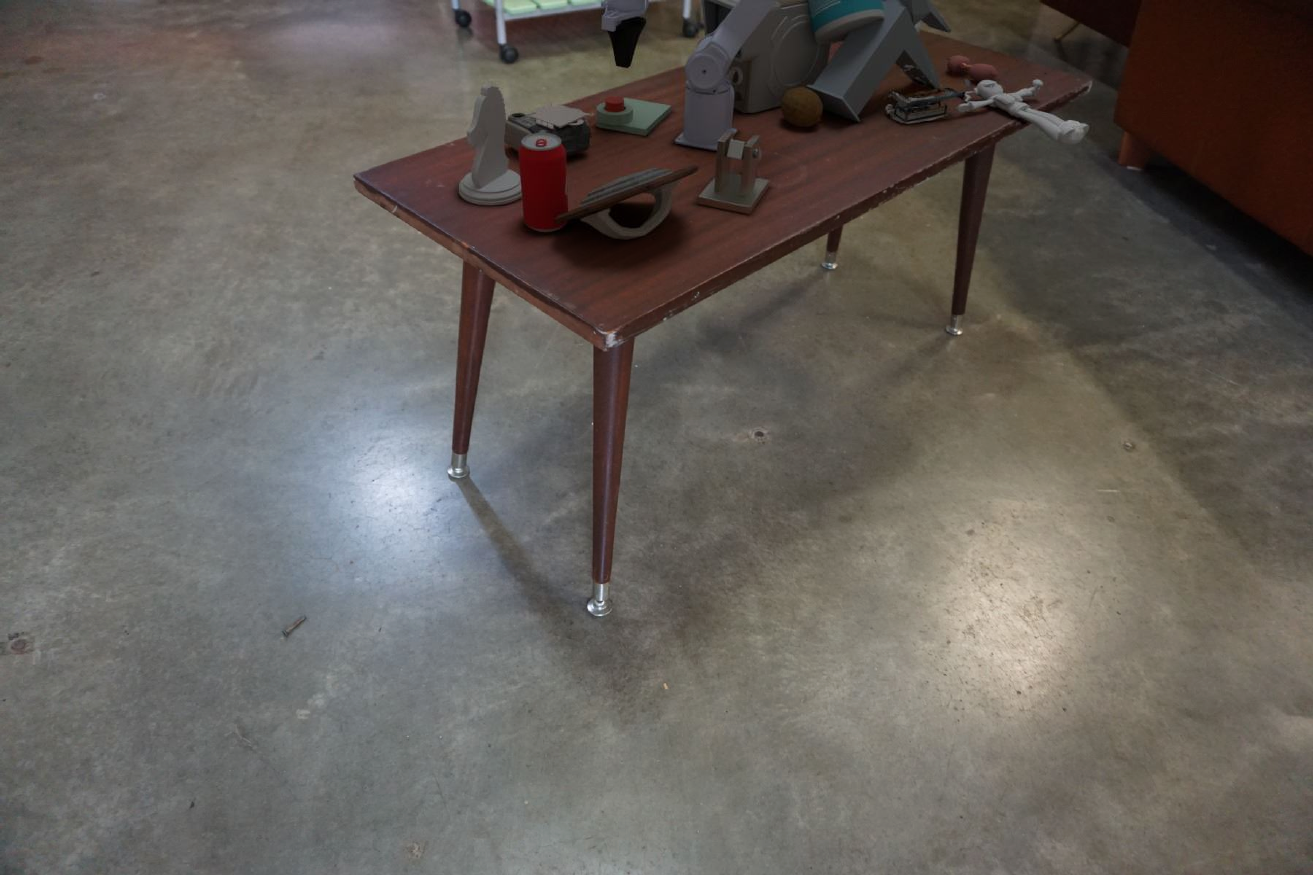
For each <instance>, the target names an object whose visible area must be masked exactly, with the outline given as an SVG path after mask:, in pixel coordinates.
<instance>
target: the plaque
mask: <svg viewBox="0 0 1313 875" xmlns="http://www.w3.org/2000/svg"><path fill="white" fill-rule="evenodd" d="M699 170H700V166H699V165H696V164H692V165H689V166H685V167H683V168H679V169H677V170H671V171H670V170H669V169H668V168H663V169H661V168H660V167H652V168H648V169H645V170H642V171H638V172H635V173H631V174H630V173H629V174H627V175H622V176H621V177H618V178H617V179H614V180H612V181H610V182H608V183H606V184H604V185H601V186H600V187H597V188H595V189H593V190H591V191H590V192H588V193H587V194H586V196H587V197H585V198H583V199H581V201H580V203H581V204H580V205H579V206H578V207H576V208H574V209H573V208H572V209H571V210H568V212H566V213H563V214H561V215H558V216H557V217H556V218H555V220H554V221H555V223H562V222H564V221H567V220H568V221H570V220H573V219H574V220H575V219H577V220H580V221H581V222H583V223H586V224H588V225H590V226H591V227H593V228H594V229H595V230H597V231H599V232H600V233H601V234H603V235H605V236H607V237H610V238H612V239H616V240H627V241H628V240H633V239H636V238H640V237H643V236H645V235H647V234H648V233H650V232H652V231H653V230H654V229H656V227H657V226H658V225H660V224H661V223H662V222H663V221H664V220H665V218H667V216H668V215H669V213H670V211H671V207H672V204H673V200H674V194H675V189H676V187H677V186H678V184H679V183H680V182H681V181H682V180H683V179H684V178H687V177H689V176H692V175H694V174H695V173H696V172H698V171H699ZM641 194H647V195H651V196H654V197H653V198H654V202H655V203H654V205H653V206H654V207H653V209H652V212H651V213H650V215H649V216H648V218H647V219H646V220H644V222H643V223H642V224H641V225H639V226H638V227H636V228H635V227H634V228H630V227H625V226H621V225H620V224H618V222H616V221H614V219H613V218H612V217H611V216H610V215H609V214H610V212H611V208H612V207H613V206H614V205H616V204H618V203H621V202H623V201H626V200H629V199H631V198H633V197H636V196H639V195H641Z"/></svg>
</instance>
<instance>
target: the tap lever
mask: <svg viewBox="0 0 1313 875" xmlns="http://www.w3.org/2000/svg"><path fill="white" fill-rule="evenodd" d="M746 144H747V142H746V141H741V140H737V139H733V140H730V144H729V149H728V153H727V157H730V158H731V159H734V160H739V161H743V159H744V149H745V145H746ZM762 154H763V153H762V150H761V149H760V148H759V156H758V161H757V165H758V164H759V163H760V162H761V160H762V156H763V155H762Z"/></svg>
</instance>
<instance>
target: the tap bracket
mask: <svg viewBox="0 0 1313 875" xmlns="http://www.w3.org/2000/svg"><path fill="white" fill-rule="evenodd" d="M733 135H734V131H731V130H727V131H726V132H725V133H724V134H723V136H722V137H721V138H720V139H719V140H718V145H717V151H716V161H715V174H714V177H713V178H712V179H711V180H710V182H709V183H708V184H707V185H706V186H705V187H704V188H703V190H702V191H701V193H700V194H699V195H698V196H697V205H702V206H707V207H710V208H711V207H712V208H716V209H719V210H726V211H731V212H736V213H741V214H744V215H745V214H746V215H750V214H751V213H752V212H753V210H754V209H755V208H756V206H757V205H758V204H759V202H760V200H761V199H762V198H763V196H764V195H765V194H766V191H768V189H769V187H770V182H771V180H770V179H765V178H760V177H757V170H758V169H757V168H758V164H757V161H758V156H759V149H760V142H761V135H757V134H753V135H752V136H751V137H750V139H748V141H747V142H746V143H747V144H746V145H745V149H744V159H743V160H742V162H743V163H742V168H741V169H742V170H741V174H740V173H735V172H731V167H732V158H730V157H727V153H728V149H729V144H730V140H734V136H735V135H734V136H733Z"/></svg>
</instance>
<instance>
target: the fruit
mask: <svg viewBox="0 0 1313 875" xmlns="http://www.w3.org/2000/svg"><path fill="white" fill-rule="evenodd" d="M780 111H781V113H782V115H783V117H784V119H785V120H786V121H787V122H788V123H789V124H791V125H794V126H797V127H799V128H807V127H808V128H809V127H812V126H814V125H815V124H817V123H818V122H819V120H820V119H821V117H822V114H823V111H824V108H823V104H822V102H821V100H820V98H819V96H818V95H817V94H816V93H814V92H813V91H811V90H809V89H807V88H804V87H797V88H792V89H790V90H789V91H787V92H786V93H785V95H784V96H783V98H782V101H781V106H780Z"/></svg>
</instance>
